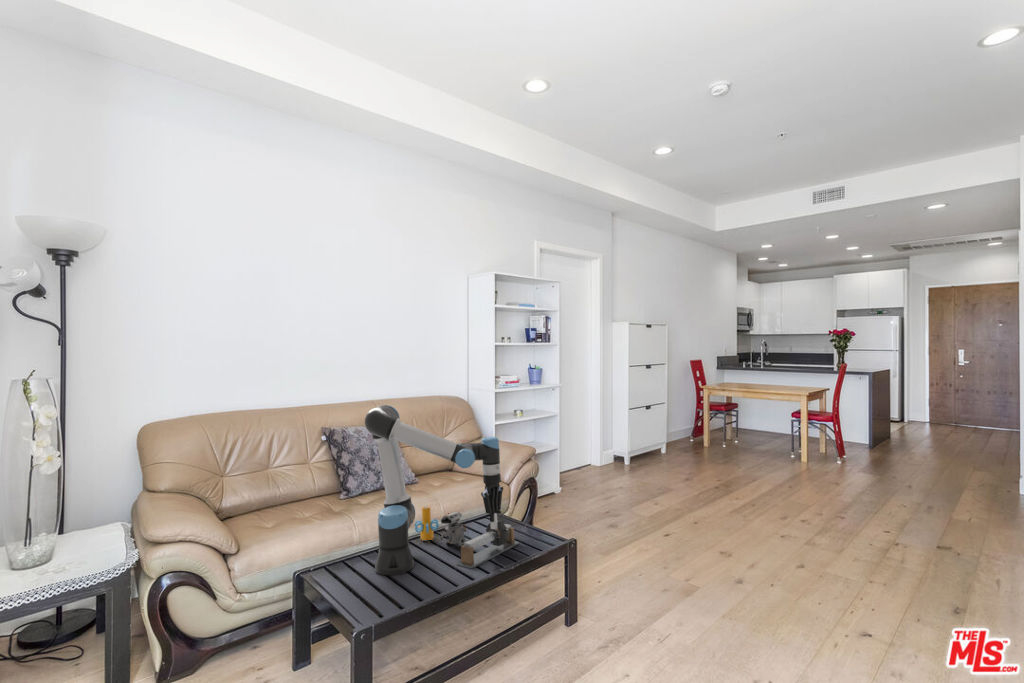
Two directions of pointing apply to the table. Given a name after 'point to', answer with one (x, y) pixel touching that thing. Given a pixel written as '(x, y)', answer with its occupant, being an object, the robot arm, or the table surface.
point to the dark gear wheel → (503, 534)
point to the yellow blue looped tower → (426, 524)
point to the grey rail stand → (476, 559)
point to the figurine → (454, 529)
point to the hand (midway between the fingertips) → (494, 528)
